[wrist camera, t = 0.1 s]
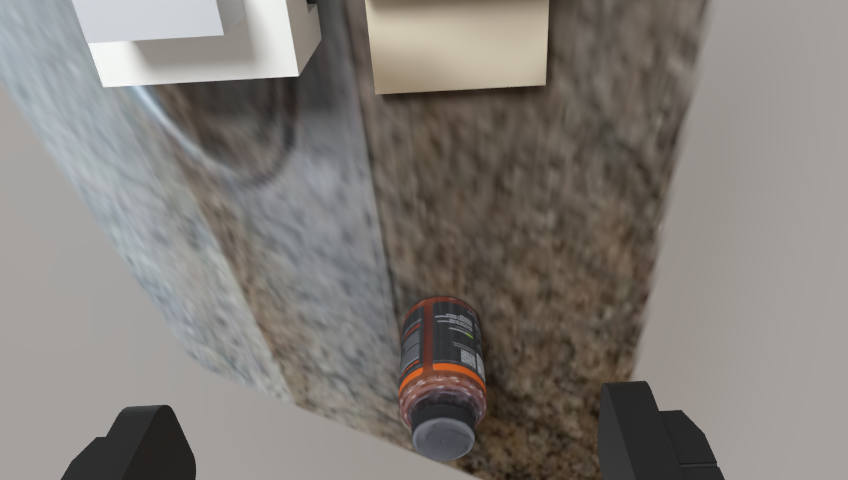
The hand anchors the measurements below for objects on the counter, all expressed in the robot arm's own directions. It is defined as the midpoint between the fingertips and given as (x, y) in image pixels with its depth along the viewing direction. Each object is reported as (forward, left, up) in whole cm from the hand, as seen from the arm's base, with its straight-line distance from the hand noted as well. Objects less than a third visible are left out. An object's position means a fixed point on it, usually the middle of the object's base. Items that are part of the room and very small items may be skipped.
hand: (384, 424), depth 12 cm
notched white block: (-4, -11, -29) cm, 31 cm away
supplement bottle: (+22, 0, -29) cm, 37 cm away
